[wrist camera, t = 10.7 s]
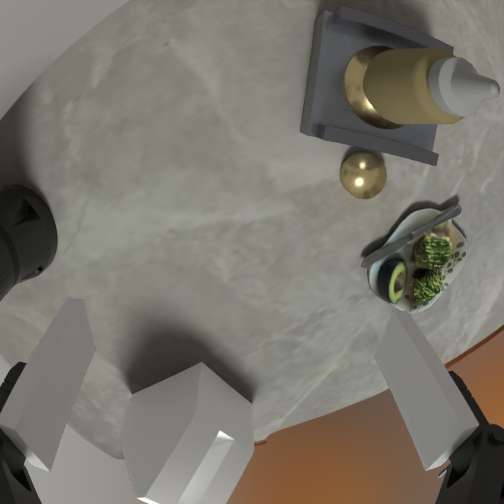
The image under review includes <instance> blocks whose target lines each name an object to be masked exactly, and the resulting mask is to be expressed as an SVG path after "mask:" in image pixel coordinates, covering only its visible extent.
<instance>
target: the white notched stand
mask: <svg viewBox="0 0 504 504" xmlns="http://www.w3.org/2000/svg"><path fill="white" fill-rule="evenodd" d="M120 443H121V447H122V451H123V455H124V458H125V462H126V466H127V469H128V473H129V476H130V480H131V483H132V486H133V489H134V493H135V495H136V498H137V499H140V500H142V501H144V502H146V503H149V504H226V502H227V501H228V499H229V497H230V495H231V494H232V492H233V490H234V488H235V486H236V485H237V483H238V481H239V479H240V477H241V476H242V474H243V472H244V470H245V468H246V466H247V464H248V462H249V461H250V459H251V457H252V455H253V453H254V437H253V411H252V404H251V403H250V402H249V401H248V400H246V399H245V398H244V397H243V396H242V395H240V394H239V393H238V392H237V391H235V390H234V389H233V388H232V387H231V386H229V385H228V384H227V383H226V382H225V381H223V380H222V379H221V378H220V377H219V376H218V375H216V374H215V373H214V372H213V371H212V370H211V369H210V368H208V367H207V366H206V365H205V364H204V363H203V362H200V363H198V364H196V365H194V366H192V367H190V368H188V369H186V370H184V371H182V372H180V373H178V374H175V375H173V376H171V377H169V378H167V379H165V380H163V381H161V382H158V383H156V384H154V385H152V386H150V387H147V388H145V389H143V390H141V391H138V392H136V393H134V394H132V396H131V400H130V403H129V407H128V410H127V414H126V417H125V421H124V424H123V428H122V431H121V435H120Z"/></svg>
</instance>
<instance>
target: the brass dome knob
mask: <svg viewBox="0 0 504 504" xmlns="http://www.w3.org/2000/svg"><path fill="white" fill-rule="evenodd" d="M386 178H387V174H386V168H385V166H384V164H383V162H382V161H381V160H380V159H379V158H378V157H376V156H374V155H372V154H370V153H367V152H355V153H353V154H351V155H349V156H348V157H347V158H346V159H345V160H344V161H343V163H342V165H341V168H340V180H341V183H342V185H343V187H344V188H345V189H346V190H347V191H348V192H349V193H350V194H351V195H353V196H354V197H356V198H359V199H370V198H372V197H374V196H376V195H377V194H379V193H380V192H381V190H382V189H383V187H384V185H385V183H386Z"/></svg>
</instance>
